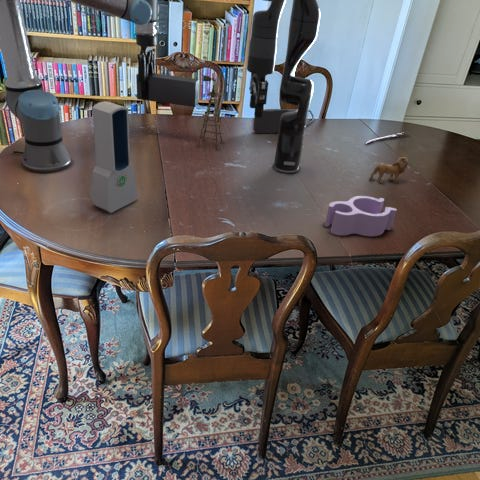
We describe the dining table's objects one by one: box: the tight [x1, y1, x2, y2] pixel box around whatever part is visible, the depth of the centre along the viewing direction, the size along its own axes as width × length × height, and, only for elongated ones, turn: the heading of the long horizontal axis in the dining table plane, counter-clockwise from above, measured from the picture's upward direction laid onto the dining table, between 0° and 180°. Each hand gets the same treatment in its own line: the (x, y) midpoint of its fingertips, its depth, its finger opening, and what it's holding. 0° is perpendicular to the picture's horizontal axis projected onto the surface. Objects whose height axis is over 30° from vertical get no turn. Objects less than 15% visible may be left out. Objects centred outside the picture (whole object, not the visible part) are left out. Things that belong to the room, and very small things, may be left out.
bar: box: [135, 72, 200, 108], centre depth 181 cm, size 23×5×9 cm, turn 80°
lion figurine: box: [368, 156, 409, 184], centre depth 171 cm, size 15×5×9 cm, turn 110°
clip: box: [324, 195, 398, 237], centre depth 141 cm, size 20×12×7 cm, turn 109°
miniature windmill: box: [197, 67, 224, 150], centre depth 180 cm, size 9×8×30 cm
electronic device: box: [89, 101, 139, 214], centre depth 133 cm, size 12×8×30 cm, turn 148°
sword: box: [365, 132, 410, 145], centre depth 213 cm, size 31×3×1 cm, turn 126°
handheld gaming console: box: [252, 108, 298, 134], centre depth 205 cm, size 23×3×10 cm, turn 108°
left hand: (147, 96), depth 184 cm, fingers closed on bar, 5 cm apart
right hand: (255, 112), depth 136 cm, fingers open, 8 cm apart
